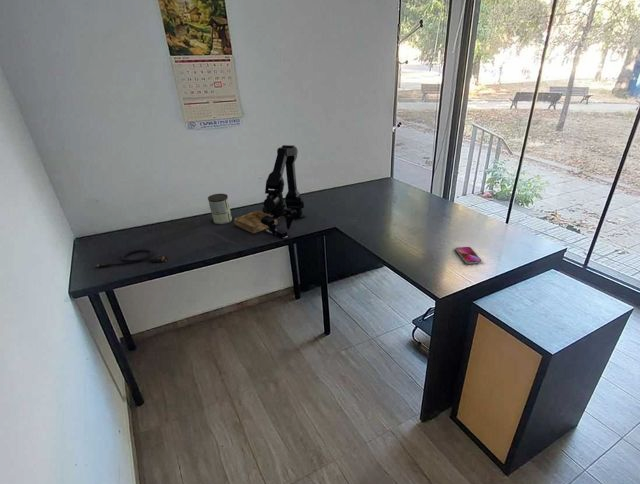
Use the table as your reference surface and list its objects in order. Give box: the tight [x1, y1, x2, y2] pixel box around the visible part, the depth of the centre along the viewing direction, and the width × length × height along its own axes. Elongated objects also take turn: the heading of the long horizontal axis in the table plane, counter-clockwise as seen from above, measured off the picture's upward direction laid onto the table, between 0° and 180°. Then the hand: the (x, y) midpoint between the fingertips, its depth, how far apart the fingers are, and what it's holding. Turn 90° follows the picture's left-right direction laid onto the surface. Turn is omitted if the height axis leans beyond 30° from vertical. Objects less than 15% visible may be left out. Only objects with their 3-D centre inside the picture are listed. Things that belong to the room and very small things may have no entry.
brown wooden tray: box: [233, 210, 279, 234], centre depth 208 cm, size 16×17×4 cm
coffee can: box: [207, 193, 233, 225], centre depth 211 cm, size 10×10×14 cm
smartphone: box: [455, 246, 482, 265], centre depth 176 cm, size 7×1×15 cm
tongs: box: [264, 227, 289, 240], centre depth 198 cm, size 14×6×3 cm, turn 49°
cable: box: [96, 248, 166, 268], centre depth 178 cm, size 14×28×2 cm, turn 100°
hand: (281, 232), depth 196 cm, fingers open, 9 cm apart
